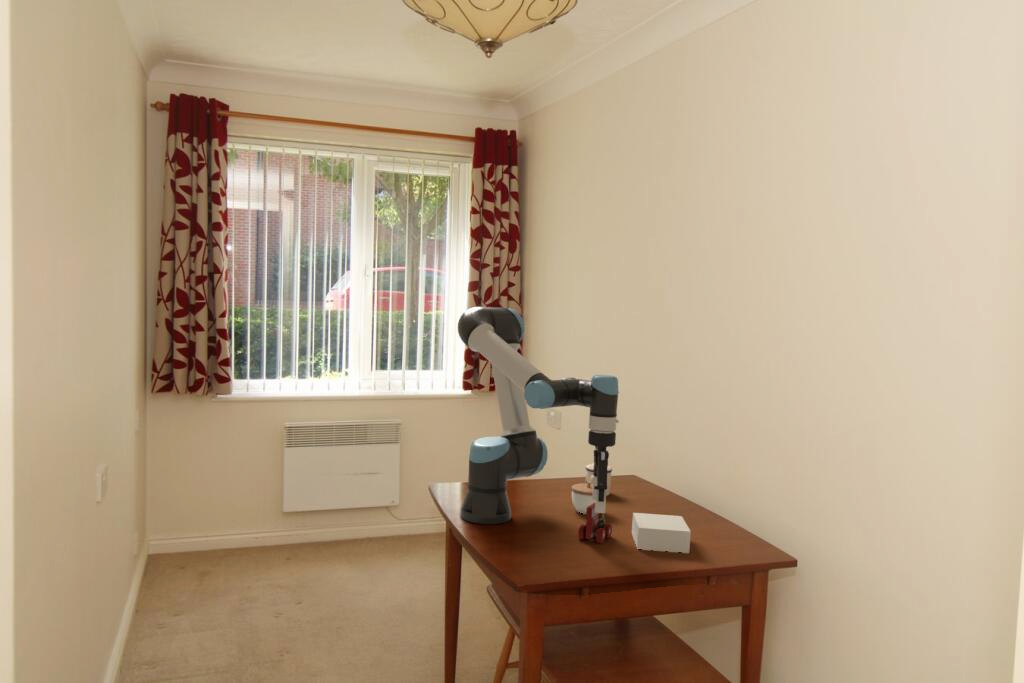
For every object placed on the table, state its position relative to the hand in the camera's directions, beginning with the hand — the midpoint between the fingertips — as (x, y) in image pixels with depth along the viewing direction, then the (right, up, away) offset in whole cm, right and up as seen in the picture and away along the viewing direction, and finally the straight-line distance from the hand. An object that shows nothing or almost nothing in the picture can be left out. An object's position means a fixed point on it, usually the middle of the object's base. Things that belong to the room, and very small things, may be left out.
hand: (598, 506), depth 210 cm
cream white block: (+17, -10, 0) cm, 20 cm away
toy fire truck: (-1, -10, +1) cm, 10 cm away
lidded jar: (-1, -8, +26) cm, 27 cm away
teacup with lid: (+5, -7, +48) cm, 48 cm away
